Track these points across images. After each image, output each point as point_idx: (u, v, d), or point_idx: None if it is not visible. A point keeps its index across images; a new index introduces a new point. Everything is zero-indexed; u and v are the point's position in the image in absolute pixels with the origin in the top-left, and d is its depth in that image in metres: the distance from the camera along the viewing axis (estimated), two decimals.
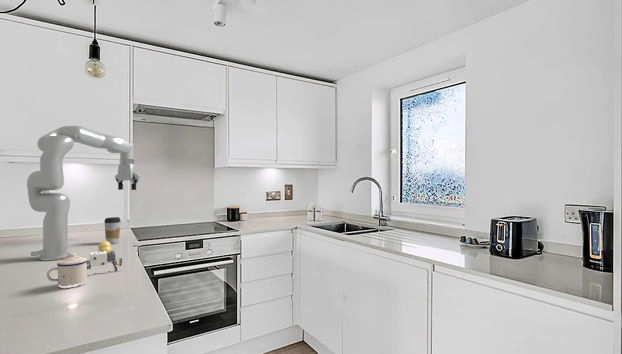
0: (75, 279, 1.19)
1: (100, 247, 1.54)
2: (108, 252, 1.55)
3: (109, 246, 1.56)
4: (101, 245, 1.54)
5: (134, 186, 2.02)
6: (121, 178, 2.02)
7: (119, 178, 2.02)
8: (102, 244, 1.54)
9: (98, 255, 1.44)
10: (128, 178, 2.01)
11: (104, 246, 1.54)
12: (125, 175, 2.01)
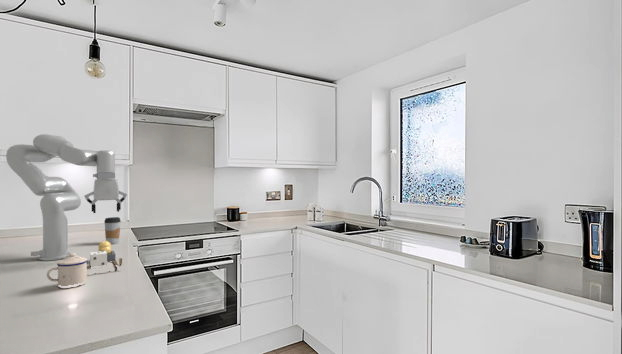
0: (75, 279, 1.19)
1: (100, 247, 1.54)
2: (108, 252, 1.55)
3: (109, 246, 1.56)
4: (101, 245, 1.54)
5: (120, 206, 1.61)
6: (103, 197, 1.54)
7: (99, 198, 1.54)
8: (102, 244, 1.54)
9: (98, 255, 1.44)
10: (115, 197, 1.57)
11: (104, 246, 1.54)
12: (110, 193, 1.56)
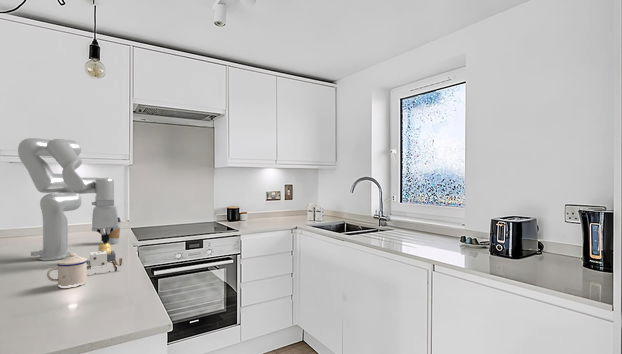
0: (75, 279, 1.19)
1: (100, 249, 1.54)
2: None
3: (109, 248, 1.56)
4: (101, 247, 1.54)
5: None
6: (101, 226, 1.53)
7: (97, 226, 1.52)
8: (102, 246, 1.54)
9: (98, 255, 1.44)
10: (114, 225, 1.56)
11: (104, 248, 1.54)
12: (108, 221, 1.54)
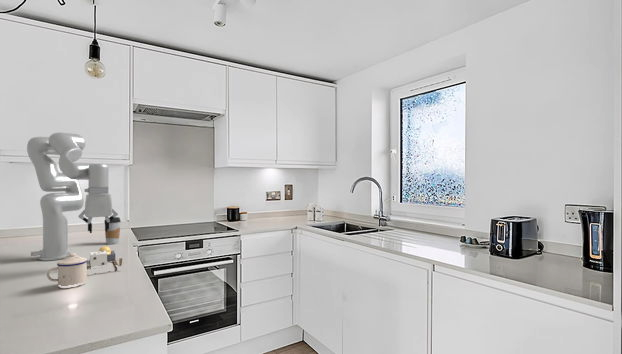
0: (75, 279, 1.19)
1: None
2: None
3: (109, 251, 1.56)
4: (101, 250, 1.54)
5: None
6: (94, 214, 1.44)
7: (90, 214, 1.43)
8: (102, 249, 1.54)
9: (98, 255, 1.44)
10: (108, 213, 1.47)
11: None
12: (102, 210, 1.45)
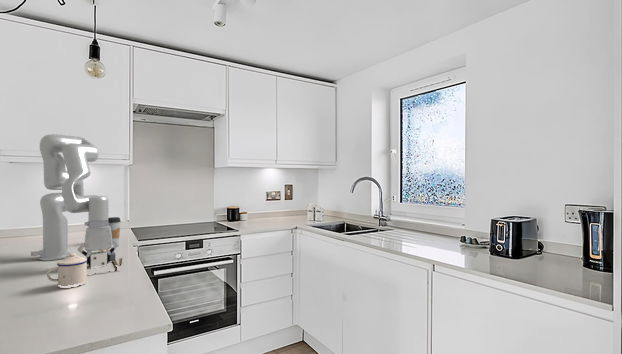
0: (75, 279, 1.19)
1: None
2: None
3: None
4: (101, 250, 1.54)
5: None
6: (94, 248, 1.44)
7: (90, 248, 1.43)
8: None
9: (98, 255, 1.44)
10: (108, 246, 1.47)
11: None
12: (102, 243, 1.45)
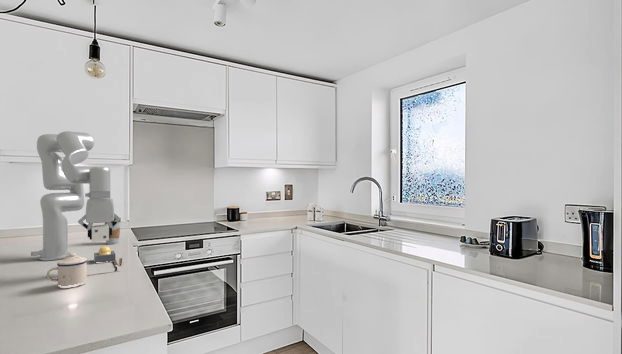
0: (75, 279, 1.19)
1: (100, 252, 1.54)
2: None
3: (109, 251, 1.56)
4: (101, 250, 1.54)
5: None
6: (96, 220, 1.37)
7: (91, 220, 1.36)
8: (102, 249, 1.54)
9: (100, 228, 1.37)
10: (110, 219, 1.40)
11: (104, 252, 1.54)
12: (104, 215, 1.39)
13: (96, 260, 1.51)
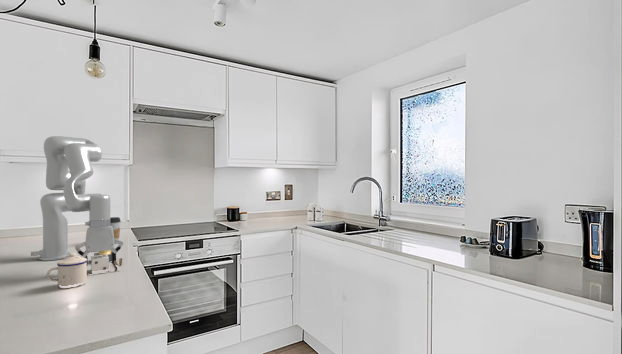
0: (75, 279, 1.19)
1: (100, 252, 1.54)
2: None
3: (109, 251, 1.56)
4: None
5: None
6: (96, 249, 1.37)
7: (91, 249, 1.36)
8: None
9: (99, 259, 1.38)
10: (110, 247, 1.40)
11: (104, 252, 1.54)
12: (104, 243, 1.39)
13: None
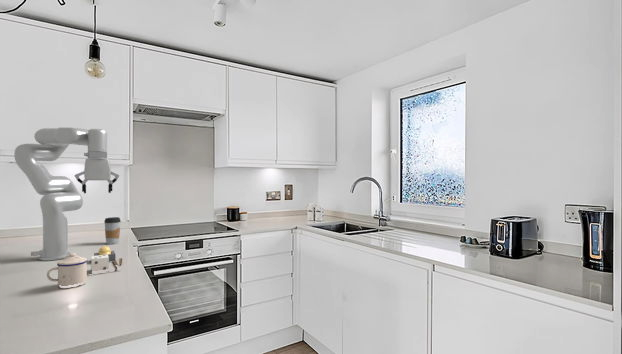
0: (75, 279, 1.19)
1: (100, 252, 1.54)
2: None
3: (109, 251, 1.56)
4: (101, 250, 1.54)
5: None
6: (93, 177, 1.49)
7: (89, 177, 1.48)
8: (102, 249, 1.54)
9: (99, 259, 1.38)
10: (106, 177, 1.52)
11: (104, 252, 1.54)
12: (101, 173, 1.51)
13: None
